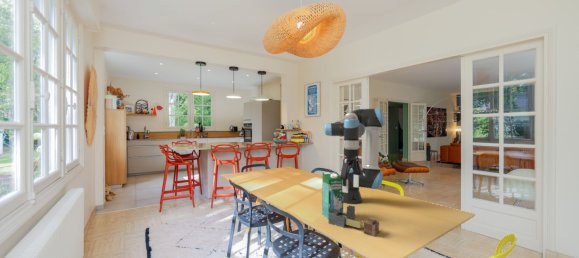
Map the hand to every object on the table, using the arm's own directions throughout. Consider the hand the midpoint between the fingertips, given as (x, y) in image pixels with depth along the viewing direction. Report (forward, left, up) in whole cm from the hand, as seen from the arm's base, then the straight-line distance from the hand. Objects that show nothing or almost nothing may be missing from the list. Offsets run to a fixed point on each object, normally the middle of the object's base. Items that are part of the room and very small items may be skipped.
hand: (350, 189), depth 123 cm
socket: (0, +11, -20) cm, 22 cm away
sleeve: (0, -7, -20) cm, 21 cm away
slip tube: (0, -3, -18) cm, 18 cm away
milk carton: (-7, -14, -20) cm, 25 cm away
